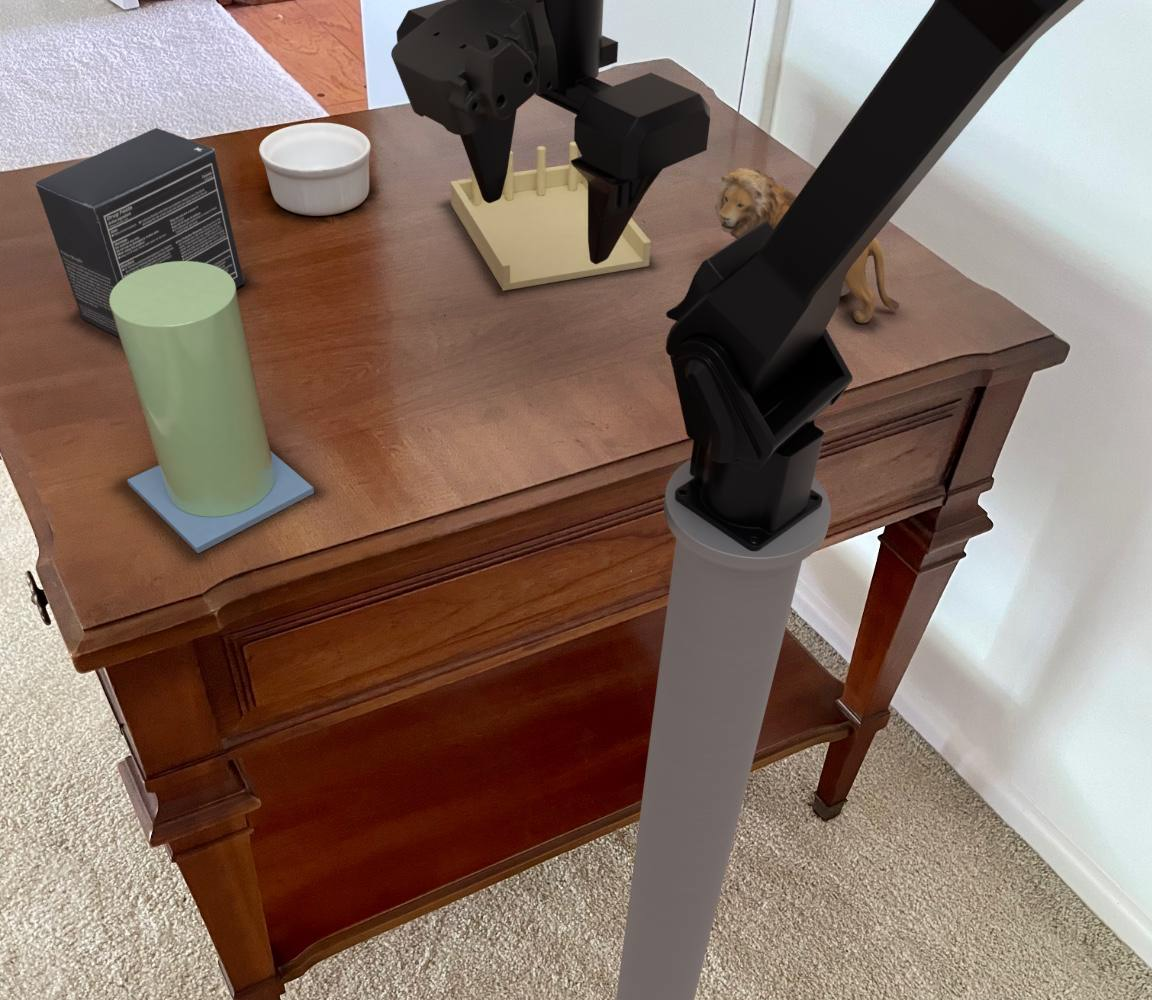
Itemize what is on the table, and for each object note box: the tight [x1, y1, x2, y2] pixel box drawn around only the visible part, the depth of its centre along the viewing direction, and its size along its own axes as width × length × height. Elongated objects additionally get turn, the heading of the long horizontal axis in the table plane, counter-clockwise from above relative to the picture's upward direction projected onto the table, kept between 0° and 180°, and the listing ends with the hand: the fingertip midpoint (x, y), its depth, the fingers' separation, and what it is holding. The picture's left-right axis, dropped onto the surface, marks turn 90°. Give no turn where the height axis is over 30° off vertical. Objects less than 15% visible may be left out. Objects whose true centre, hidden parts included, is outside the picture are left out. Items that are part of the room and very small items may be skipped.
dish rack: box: [449, 141, 652, 291], centre depth 90 cm, size 14×12×5 cm
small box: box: [34, 127, 245, 339], centre depth 79 cm, size 11×6×10 cm, turn 146°
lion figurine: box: [714, 167, 900, 324], centre depth 83 cm, size 15×5×9 cm, turn 73°
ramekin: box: [258, 122, 372, 217], centre depth 93 cm, size 9×9×4 cm
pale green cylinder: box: [109, 261, 275, 517], centre depth 64 cm, size 6×6×13 cm
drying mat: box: [126, 450, 315, 554], centre depth 69 cm, size 8×8×1 cm
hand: (543, 229), depth 66 cm, fingers open, 9 cm apart
